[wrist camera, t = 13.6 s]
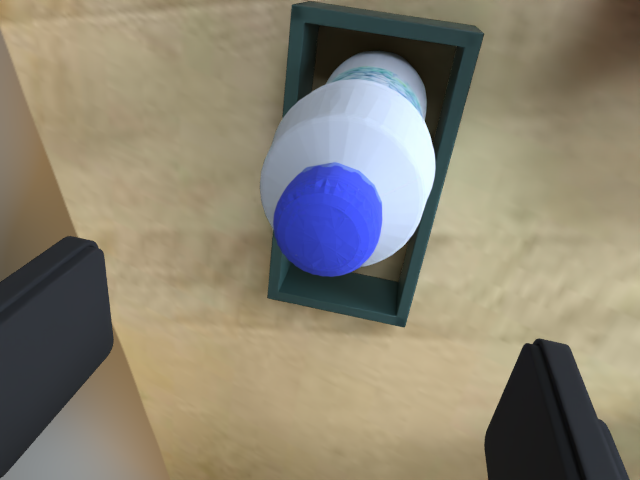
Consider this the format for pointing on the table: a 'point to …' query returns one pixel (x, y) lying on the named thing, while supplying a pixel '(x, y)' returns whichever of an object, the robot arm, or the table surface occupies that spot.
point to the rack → (396, 297)
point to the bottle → (350, 167)
